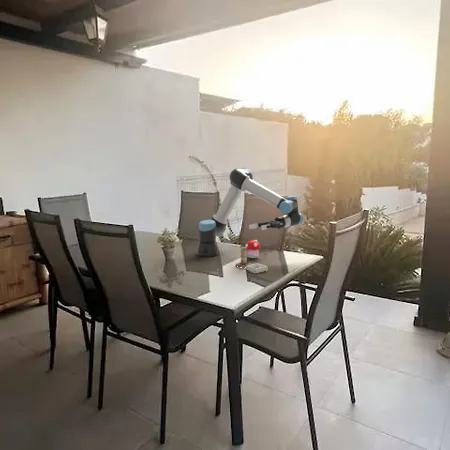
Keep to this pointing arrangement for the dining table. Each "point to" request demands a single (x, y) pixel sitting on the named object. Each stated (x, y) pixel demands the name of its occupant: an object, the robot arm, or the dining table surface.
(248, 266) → the tray
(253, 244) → the mushroom
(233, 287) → the dining table surface
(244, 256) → the dowel
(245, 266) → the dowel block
